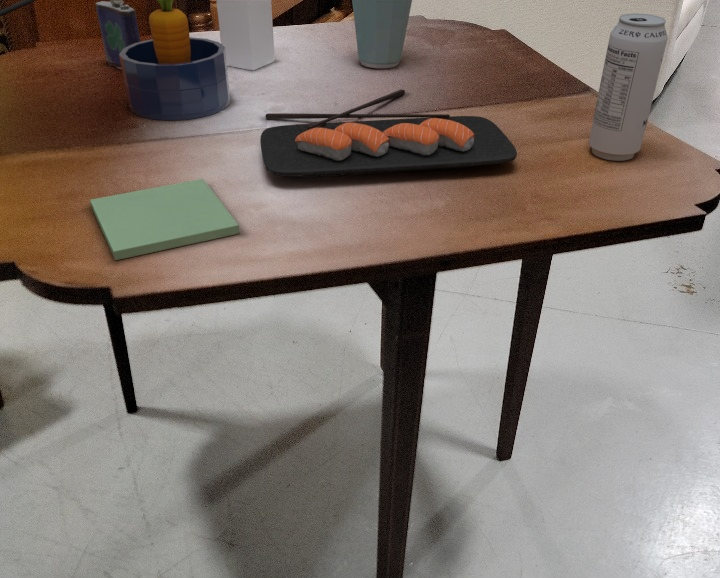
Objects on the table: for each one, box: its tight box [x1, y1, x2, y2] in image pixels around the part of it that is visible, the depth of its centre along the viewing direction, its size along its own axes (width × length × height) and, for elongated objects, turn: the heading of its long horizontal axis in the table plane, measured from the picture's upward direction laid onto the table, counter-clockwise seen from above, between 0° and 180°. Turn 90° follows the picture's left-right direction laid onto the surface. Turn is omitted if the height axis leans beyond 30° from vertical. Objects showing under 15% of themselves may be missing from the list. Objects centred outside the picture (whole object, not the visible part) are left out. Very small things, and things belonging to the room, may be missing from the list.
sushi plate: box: [259, 88, 518, 178], centre depth 91 cm, size 29×30×4 cm
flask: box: [94, 0, 142, 70], centre depth 111 cm, size 9×3×11 cm, turn 46°
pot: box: [119, 36, 231, 121], centre depth 99 cm, size 14×14×7 cm
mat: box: [89, 178, 240, 261], centre depth 73 cm, size 12×12×1 cm
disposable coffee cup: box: [351, 0, 413, 69], centre depth 112 cm, size 11×11×15 cm
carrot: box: [148, 0, 191, 64], centre depth 97 cm, size 5×5×15 cm
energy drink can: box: [588, 13, 669, 162], centre depth 83 cm, size 6×6×15 cm
